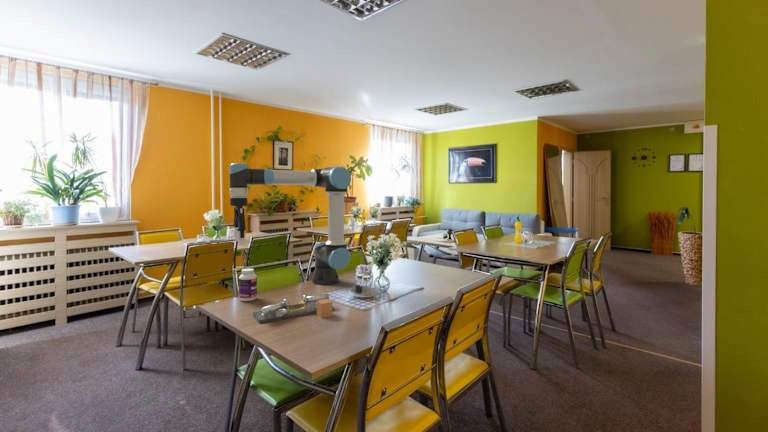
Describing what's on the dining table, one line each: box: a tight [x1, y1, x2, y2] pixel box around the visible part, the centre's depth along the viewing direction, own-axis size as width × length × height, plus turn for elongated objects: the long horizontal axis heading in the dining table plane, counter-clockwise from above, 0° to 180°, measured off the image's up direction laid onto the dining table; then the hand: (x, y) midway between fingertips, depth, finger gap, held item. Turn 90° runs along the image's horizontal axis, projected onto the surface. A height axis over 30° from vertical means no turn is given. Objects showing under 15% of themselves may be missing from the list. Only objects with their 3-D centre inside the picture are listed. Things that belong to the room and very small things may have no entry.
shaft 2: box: [301, 293, 330, 306], centre depth 163 cm, size 11×5×6 cm, turn 122°
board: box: [252, 298, 335, 324], centre depth 158 cm, size 32×11×4 cm, turn 122°
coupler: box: [316, 298, 333, 319], centre depth 156 cm, size 5×5×6 cm
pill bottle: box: [238, 268, 258, 302], centre depth 176 cm, size 8×8×14 cm
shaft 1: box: [259, 298, 290, 319], centre depth 151 cm, size 11×5×6 cm, turn 142°
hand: (239, 243), depth 171 cm, fingers open, 13 cm apart
